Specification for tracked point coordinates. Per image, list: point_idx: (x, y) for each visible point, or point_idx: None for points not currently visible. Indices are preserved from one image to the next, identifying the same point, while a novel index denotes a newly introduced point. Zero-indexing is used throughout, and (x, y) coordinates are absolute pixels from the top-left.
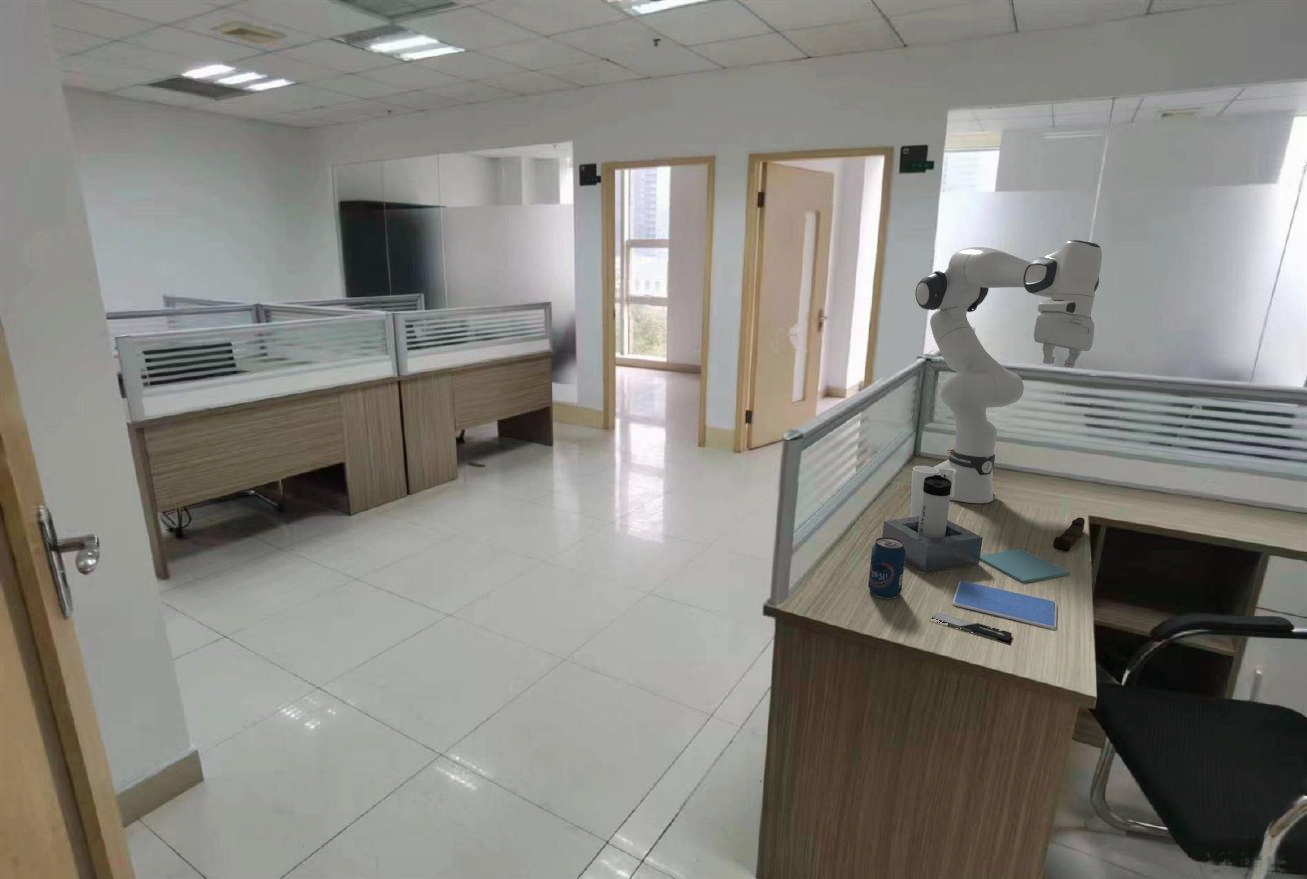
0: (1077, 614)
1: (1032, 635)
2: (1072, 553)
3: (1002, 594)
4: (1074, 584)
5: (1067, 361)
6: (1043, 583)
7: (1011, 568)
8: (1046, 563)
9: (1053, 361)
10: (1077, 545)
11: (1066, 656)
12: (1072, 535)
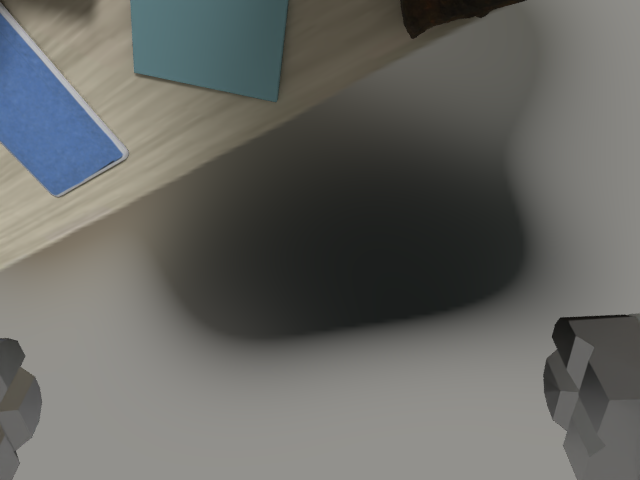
0: (137, 191)
1: (7, 186)
2: None
3: (41, 88)
4: (242, 130)
5: (590, 411)
6: (181, 94)
7: (159, 17)
8: (270, 45)
9: (21, 440)
10: None
11: (18, 236)
12: (462, 15)
